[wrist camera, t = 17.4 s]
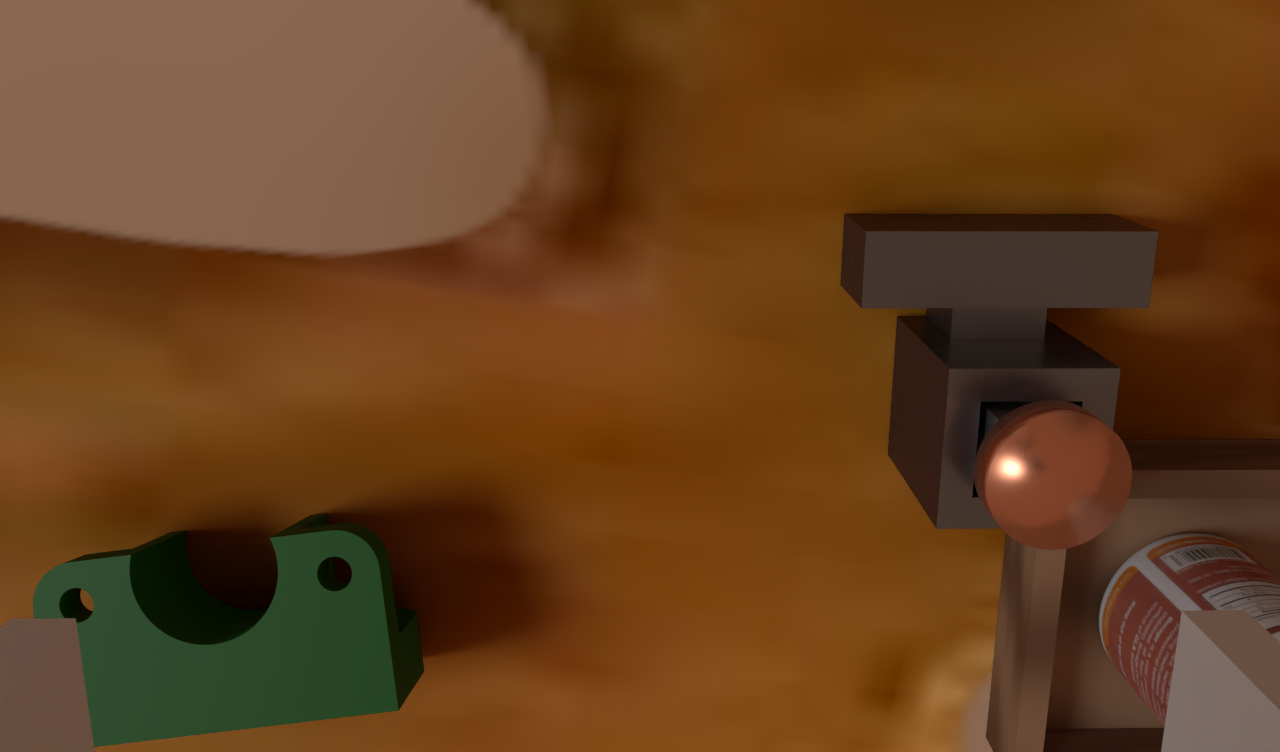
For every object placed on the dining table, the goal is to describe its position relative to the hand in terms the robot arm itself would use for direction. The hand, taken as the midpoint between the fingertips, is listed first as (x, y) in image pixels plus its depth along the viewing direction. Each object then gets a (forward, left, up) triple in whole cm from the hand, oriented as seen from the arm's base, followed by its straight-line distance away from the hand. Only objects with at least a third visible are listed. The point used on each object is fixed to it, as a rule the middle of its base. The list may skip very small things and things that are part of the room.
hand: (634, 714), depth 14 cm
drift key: (+4, +12, -25) cm, 28 cm away
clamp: (+12, -13, -27) cm, 32 cm away
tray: (+12, +20, -27) cm, 35 cm away
